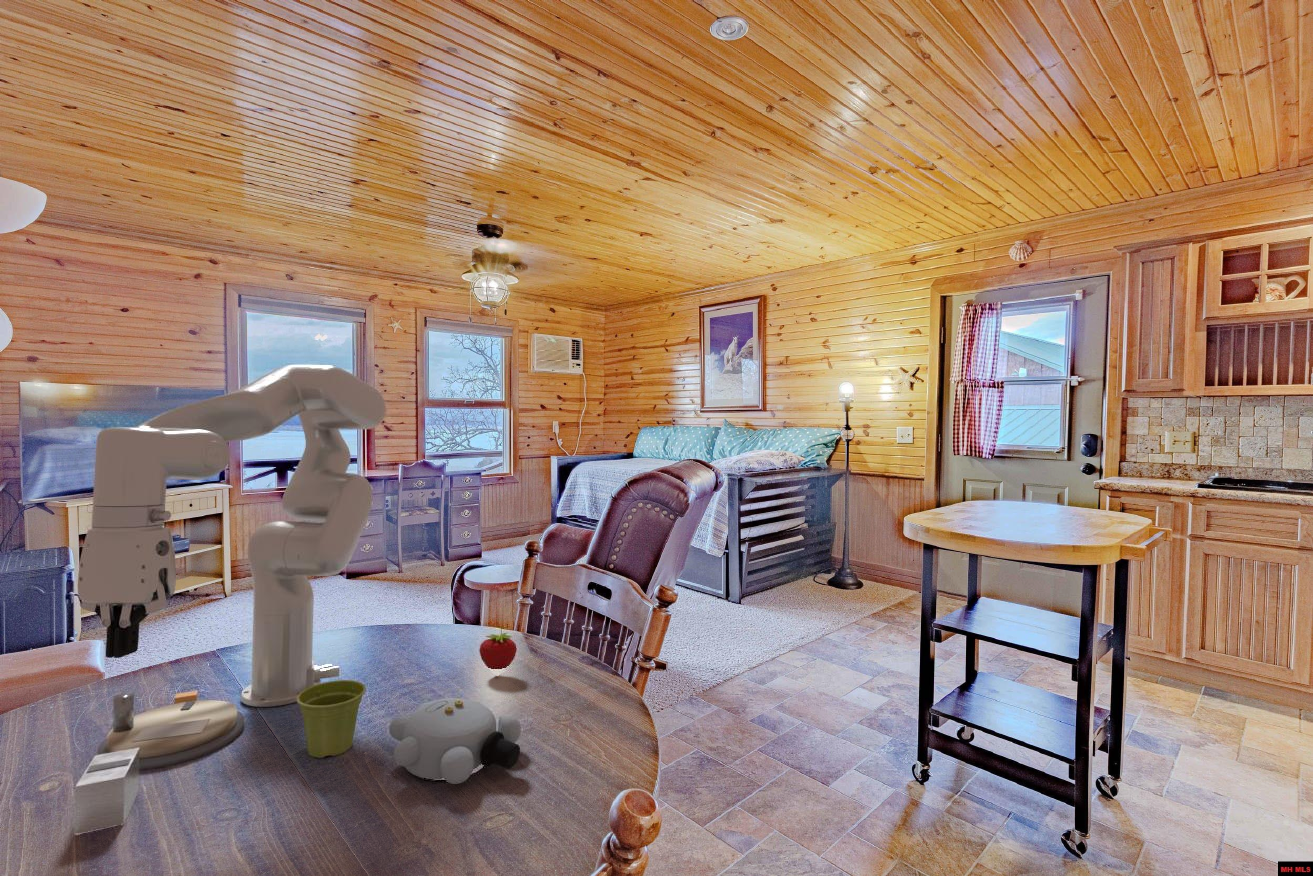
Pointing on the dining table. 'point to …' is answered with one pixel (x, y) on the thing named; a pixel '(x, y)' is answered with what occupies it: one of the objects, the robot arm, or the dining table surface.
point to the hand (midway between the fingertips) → (121, 654)
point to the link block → (107, 790)
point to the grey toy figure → (454, 739)
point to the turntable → (168, 725)
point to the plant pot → (330, 716)
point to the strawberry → (498, 651)
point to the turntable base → (190, 753)
